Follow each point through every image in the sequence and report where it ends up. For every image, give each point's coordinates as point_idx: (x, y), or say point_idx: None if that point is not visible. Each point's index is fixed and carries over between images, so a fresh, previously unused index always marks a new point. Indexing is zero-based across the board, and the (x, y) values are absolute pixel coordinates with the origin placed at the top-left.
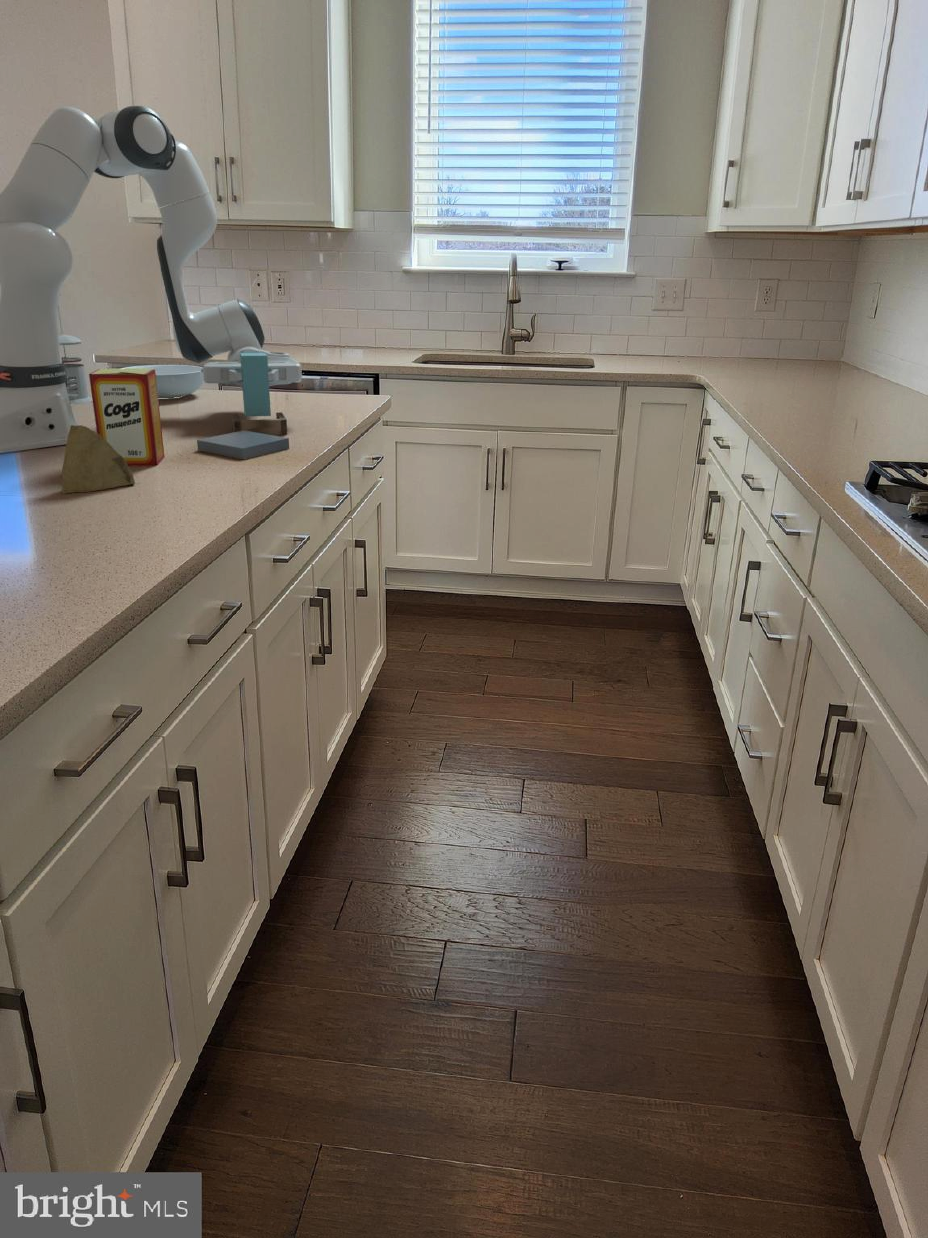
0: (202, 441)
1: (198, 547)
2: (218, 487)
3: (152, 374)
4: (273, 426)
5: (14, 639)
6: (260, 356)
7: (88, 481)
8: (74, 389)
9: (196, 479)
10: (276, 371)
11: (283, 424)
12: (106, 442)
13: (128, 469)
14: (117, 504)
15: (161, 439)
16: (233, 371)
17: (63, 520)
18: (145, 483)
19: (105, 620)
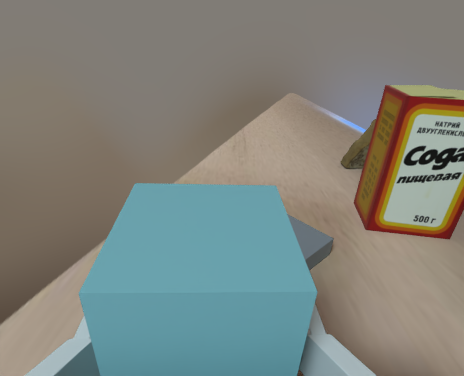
0: (320, 232)
1: (263, 114)
2: (265, 154)
3: (396, 97)
4: None
5: (303, 98)
6: (174, 188)
7: None
8: None
9: (290, 167)
10: (39, 368)
11: None
12: (369, 127)
13: (348, 151)
14: (330, 144)
15: (370, 200)
16: (338, 345)
17: (348, 134)
18: (333, 166)
19: (282, 99)
